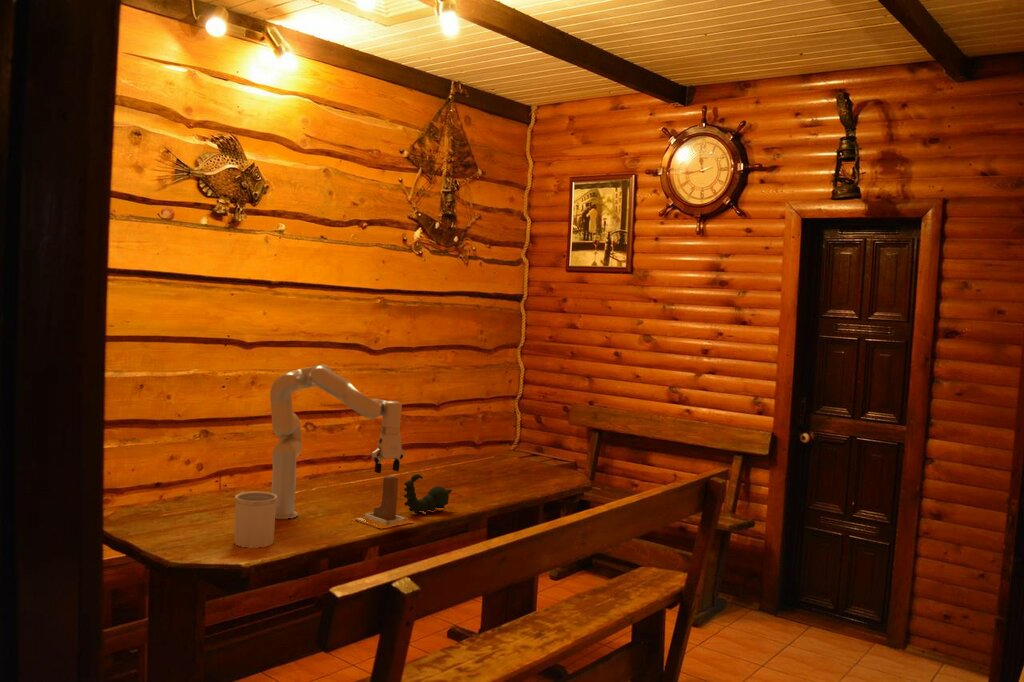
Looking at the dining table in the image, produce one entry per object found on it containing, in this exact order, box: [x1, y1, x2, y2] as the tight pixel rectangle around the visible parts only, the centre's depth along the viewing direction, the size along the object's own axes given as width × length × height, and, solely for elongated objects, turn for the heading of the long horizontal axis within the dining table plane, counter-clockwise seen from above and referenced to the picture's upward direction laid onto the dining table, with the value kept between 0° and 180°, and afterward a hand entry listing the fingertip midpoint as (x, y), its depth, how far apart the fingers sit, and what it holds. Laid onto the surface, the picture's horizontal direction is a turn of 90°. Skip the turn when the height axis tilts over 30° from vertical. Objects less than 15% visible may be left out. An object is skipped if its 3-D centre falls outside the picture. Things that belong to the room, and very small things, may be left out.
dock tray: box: [355, 511, 407, 526], centre depth 353 cm, size 18×16×2 cm
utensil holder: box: [234, 490, 277, 549], centre depth 311 cm, size 15×15×18 cm
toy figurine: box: [403, 473, 453, 514], centre depth 373 cm, size 9×19×25 cm
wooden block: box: [373, 476, 399, 521], centre depth 353 cm, size 9×4×18 cm, turn 51°
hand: (386, 471), depth 352 cm, fingers open, 9 cm apart
